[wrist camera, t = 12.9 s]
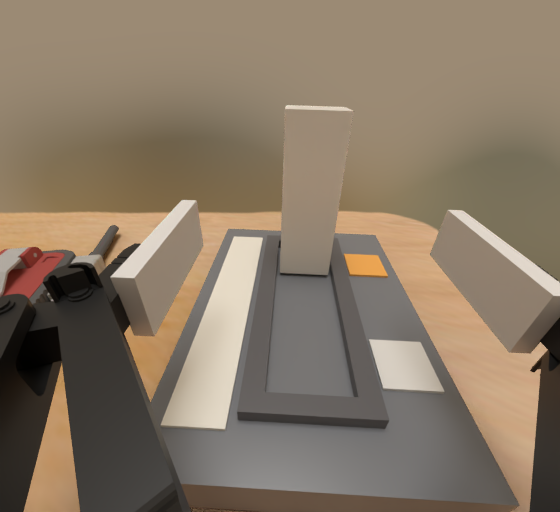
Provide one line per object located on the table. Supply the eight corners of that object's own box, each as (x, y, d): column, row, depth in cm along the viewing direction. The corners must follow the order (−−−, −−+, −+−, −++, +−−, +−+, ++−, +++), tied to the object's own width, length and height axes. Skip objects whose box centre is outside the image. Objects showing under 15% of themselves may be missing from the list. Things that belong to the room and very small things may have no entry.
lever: (279, 272, 22) (285, 108, 16) (281, 253, 25) (286, 105, 18) (327, 275, 22) (353, 111, 15) (324, 255, 25) (345, 107, 18)
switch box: (136, 503, 12) (110, 471, 10) (230, 251, 31) (227, 222, 29) (485, 526, 12) (530, 498, 10) (369, 258, 30) (376, 228, 28)
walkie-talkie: (52, 379, 18) (127, 236, 34) (17, 334, 15) (116, 203, 32) (-114, 407, 16) (49, 242, 32) (-183, 361, 14) (31, 208, 30)
